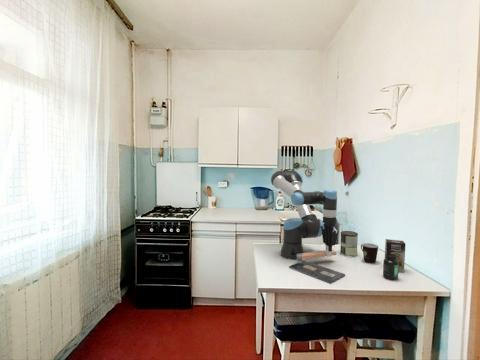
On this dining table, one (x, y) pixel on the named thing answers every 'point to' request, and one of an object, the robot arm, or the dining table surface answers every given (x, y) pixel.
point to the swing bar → (313, 254)
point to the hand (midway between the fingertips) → (328, 256)
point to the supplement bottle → (390, 267)
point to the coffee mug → (369, 252)
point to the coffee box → (396, 251)
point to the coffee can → (349, 243)
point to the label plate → (317, 271)
